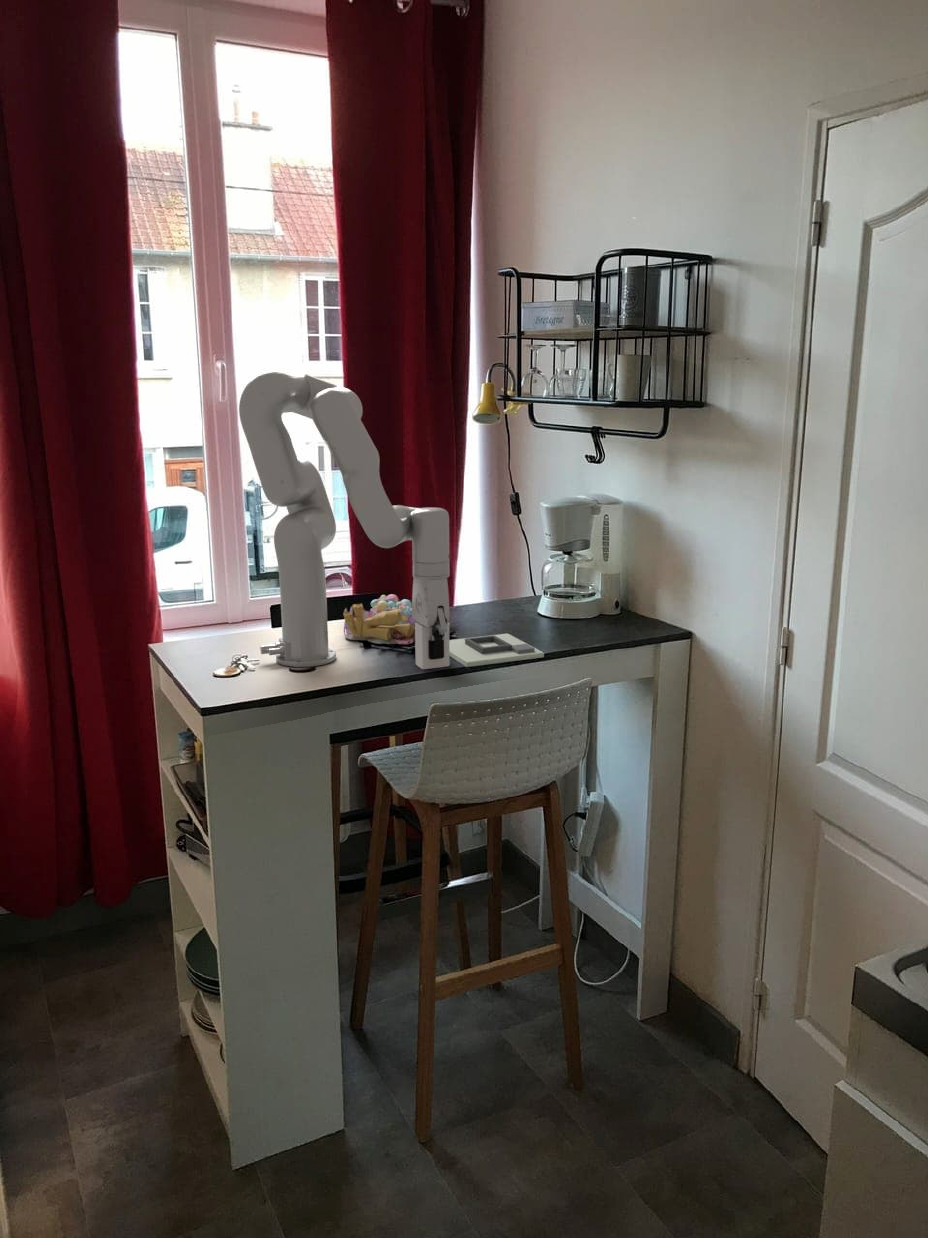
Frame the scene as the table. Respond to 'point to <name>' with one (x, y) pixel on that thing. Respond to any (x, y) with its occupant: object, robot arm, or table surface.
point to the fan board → (491, 650)
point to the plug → (423, 648)
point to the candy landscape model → (382, 621)
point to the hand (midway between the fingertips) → (432, 654)
